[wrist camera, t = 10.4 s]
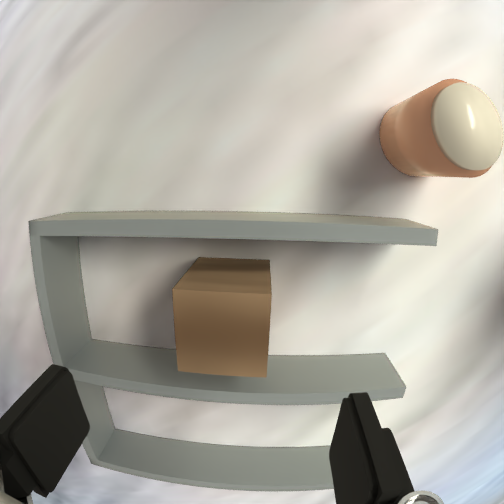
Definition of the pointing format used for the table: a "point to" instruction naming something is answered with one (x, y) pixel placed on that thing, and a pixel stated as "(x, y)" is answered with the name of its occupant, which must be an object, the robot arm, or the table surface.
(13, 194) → the table surface
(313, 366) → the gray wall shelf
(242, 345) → the walnut block
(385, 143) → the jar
